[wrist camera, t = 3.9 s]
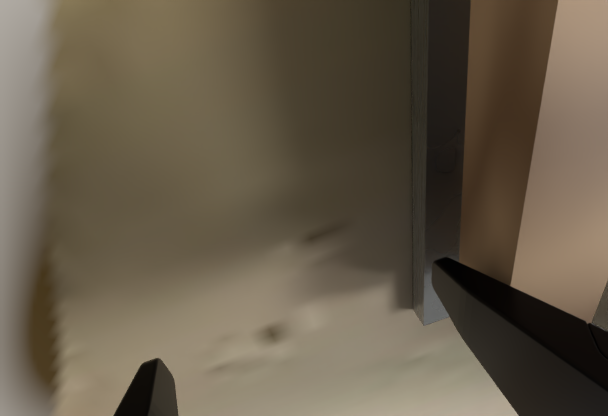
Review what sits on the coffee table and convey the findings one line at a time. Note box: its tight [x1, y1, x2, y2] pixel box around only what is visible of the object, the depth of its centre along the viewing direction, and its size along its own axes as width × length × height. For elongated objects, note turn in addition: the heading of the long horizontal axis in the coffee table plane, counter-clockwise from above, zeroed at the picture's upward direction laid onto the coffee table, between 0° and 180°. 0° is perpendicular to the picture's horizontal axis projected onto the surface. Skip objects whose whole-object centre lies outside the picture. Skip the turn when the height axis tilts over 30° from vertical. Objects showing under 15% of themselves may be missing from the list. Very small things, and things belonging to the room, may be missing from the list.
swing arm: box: [459, 0, 608, 323], centre depth 7 cm, size 16×3×3 cm, turn 12°
